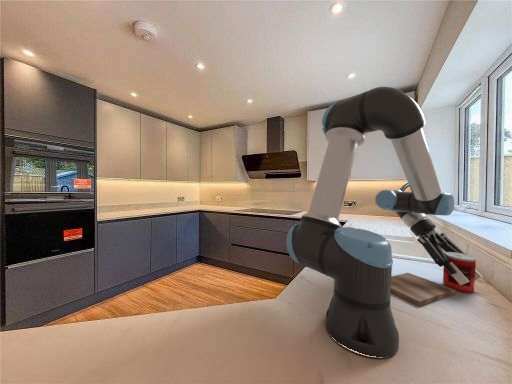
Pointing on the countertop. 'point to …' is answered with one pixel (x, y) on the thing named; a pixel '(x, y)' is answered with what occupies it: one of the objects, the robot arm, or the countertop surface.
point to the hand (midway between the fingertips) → (471, 281)
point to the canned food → (465, 266)
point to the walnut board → (418, 289)
